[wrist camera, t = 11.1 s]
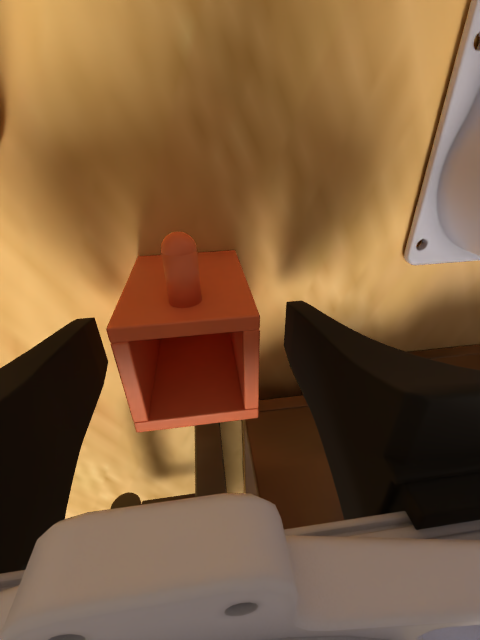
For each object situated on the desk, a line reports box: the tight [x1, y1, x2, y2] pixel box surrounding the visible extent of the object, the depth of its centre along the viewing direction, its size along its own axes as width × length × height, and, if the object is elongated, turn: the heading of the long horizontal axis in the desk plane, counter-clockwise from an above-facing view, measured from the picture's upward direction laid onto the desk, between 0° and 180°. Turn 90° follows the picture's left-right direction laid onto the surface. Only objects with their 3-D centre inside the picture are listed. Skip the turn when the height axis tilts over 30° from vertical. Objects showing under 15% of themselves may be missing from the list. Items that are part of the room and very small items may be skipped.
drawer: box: [111, 395, 344, 530], centre depth 17 cm, size 18×13×7 cm
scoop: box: [106, 232, 260, 432], centre depth 11 cm, size 6×4×6 cm
